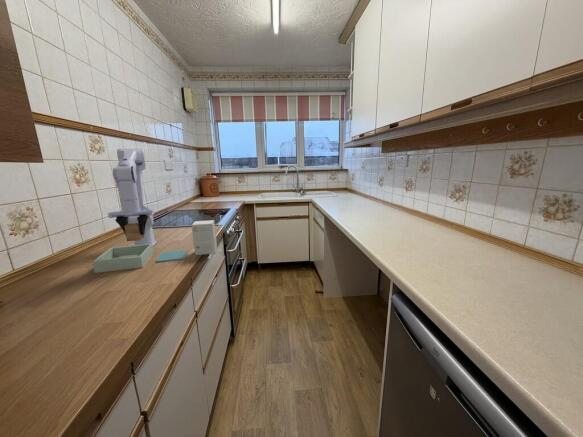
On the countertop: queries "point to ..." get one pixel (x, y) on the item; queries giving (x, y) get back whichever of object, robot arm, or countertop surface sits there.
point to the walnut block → (133, 232)
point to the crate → (123, 258)
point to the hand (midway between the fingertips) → (135, 234)
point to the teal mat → (172, 256)
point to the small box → (204, 237)
